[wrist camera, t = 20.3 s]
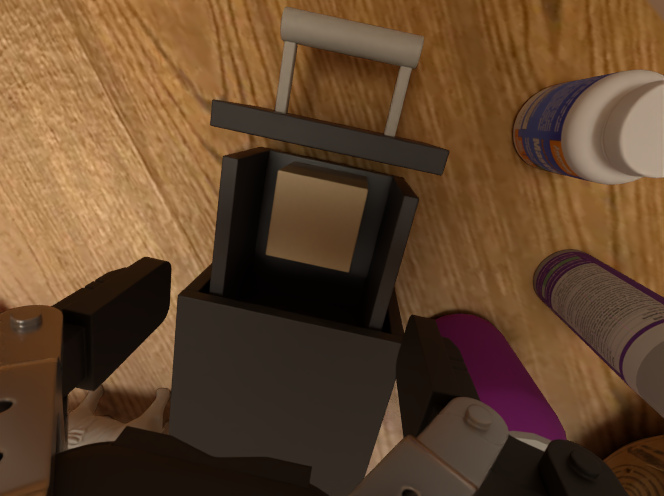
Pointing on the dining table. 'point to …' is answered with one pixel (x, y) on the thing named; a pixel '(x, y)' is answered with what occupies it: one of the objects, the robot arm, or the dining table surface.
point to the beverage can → (502, 379)
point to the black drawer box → (281, 384)
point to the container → (609, 318)
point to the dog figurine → (111, 420)
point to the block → (316, 215)
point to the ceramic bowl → (640, 466)
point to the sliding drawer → (383, 189)
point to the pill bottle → (596, 128)
